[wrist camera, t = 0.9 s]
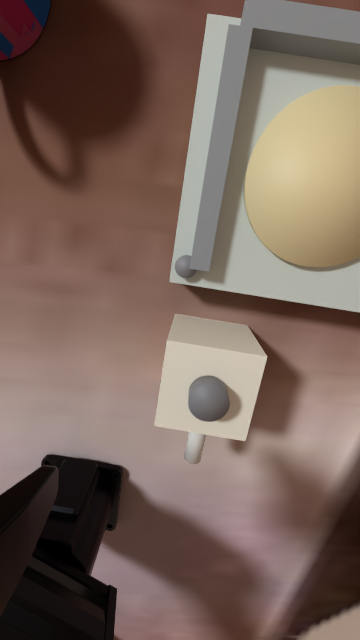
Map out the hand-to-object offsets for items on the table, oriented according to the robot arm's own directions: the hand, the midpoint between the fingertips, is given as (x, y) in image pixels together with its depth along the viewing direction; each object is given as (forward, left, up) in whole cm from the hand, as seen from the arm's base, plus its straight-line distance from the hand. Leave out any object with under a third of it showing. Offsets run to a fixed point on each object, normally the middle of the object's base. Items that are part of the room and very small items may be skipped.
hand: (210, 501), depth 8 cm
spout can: (-2, 0, -12) cm, 12 cm away
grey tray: (+11, -4, -12) cm, 17 cm away
